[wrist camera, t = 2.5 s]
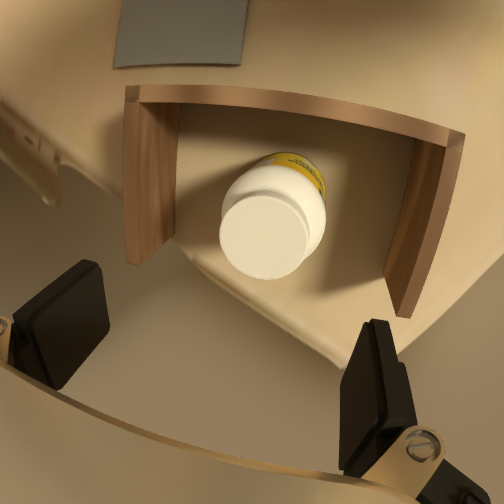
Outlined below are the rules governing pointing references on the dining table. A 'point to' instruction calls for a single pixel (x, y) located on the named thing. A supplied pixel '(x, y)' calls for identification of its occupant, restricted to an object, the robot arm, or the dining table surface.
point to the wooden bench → (170, 96)
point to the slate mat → (180, 32)
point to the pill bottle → (273, 216)
